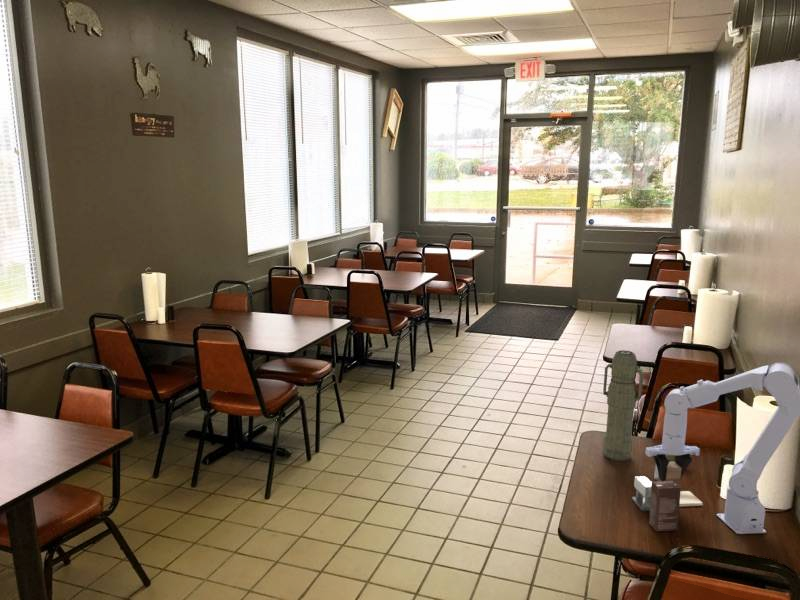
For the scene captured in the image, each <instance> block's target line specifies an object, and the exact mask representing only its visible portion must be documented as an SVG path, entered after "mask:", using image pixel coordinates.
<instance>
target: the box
mask: <svg viewBox="0 0 800 600" xmlns="http://www.w3.org/2000/svg"><path fill="white" fill-rule="evenodd" d="M651 482H652V485H651V501H650V511H649V517H648V518H649V519H648V521H649V522H648V524H649V525H650V526H651V528H653V530H655V532H666V531H671V532H672V531H679V529H678V528H679V514H680V507H679V504H680V491H681V489H682V487H681V486H679V485H678V484H676V483H675V482H674V481H673V480H672V481H657V480H655V481H651Z"/></svg>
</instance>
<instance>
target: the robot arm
mask: <svg viewBox="0 0 800 600" xmlns="http://www.w3.org/2000/svg"><path fill="white" fill-rule="evenodd" d="M696 381H697V382H696V383H695V384H692V385H689V386H686V387H685V386H683V385H682V386H680V387H679V388H674V389H672V390H671V391H670V392H669V393H668V394H667V395H666V397H665V399H664V404H663V405H664V408H665V411H664V412H665V414H664V418H663V427H662V428H663V429H662V440H661V444H659V445H654V446H650V447H649V446H648V447H645V454H644V455H646V456H647V457H649V458H653V459H654V462H655V465H657V469H658V475H659V479H660V480H661V481H665V478H666V470H667V466H668V464H669V462H670V460H668V459H666V457H665V456H666V455H675V463H676V464H678V465H679V466H680V467H681V468H682V469H681V479H680V482H681V481H682V478H683V476H684V473H685V472H686V469H687V468H688V466H690V464H691V463H692V462H693V458H692V457H691V456H693V455H694V456H695V457H696V456H700V451H701V450H700V448H699V447H697V445H686V444H685V443H686V436H687V424H688V409H694V408H698V407H701V406H705V405H709V404H711V403H715V402H717V401H718V399H719V397H720V396H721V395H726V394H728V393H733V392H737V391H740V390H744V389H747V388H748V389H749V388H753V389H756V390H758V391H761V392H763V391H764V389H766V391H767V392H768V393H769V394H770V395H771V396H772V397H773V398H774V400H775V402H776V404H777V408H776V410H775V411H774V413H773V414H772V416H771V417H770V419H769V421H768V422H767V424H765V426H764V428H763V429H762V431H761V433H760V434H759V436H758V437H757V439H756V440H755V442H754V444H753V445H752V447H751V449H750V450H749V451H748V453H747V454H745V456H744V457H743V459H742V460H740V461H738V462H736V463H735V464H734V465H733V467H732V470H731V474H730V475H731V476H730V477H729V480H728V485H727V488H726V496H725V497H726V498H725V505H724V512H723V513H717V514H716V517H718V518H719V519H720V521H722V522H723V523H724V524H725V525H727V526H728V527H729V528H730V529H731V530H732V531H733V532H735V533H736V534H737V535H739V534H740V535H745V534H766V533H767V530H766V529H764V526H765V519H766V518H765V517H766V509H765V506H764V504H763V503H762V502H761V500H760V498H759V491H758V489H757V488H758V487H757V485H758V481H759V479H760V478H761V476H762V473H763V472H764V469H765V467H766V466H767V464H768V463H769V461H770V460H771V458H772V457H773V455H774V454H775V452H776V451H777V449H778V448H779V446H780V445H781V443H782V442H783V440H784V439H785V437H786V435H787V434H788V433H789V432H790V430H791V428H792V426H793V425H794V423H795V422H796V421H797V420H798V418H799V416H800V379H799V377H798V375H797V374H796V372H795V369H793V368H792V366H791V365H789V364H787V363H785V362H776V363H773V364H771V365H770V366H769V365H763V366H759V367H756V368H754V369H751V370H748V371H744V372H742V373H740V374H736V375H734V376H731V377H729V378H726V379H723V380H719V381H716V382H714V381H711V380H705V381H704V380H703V379H700V380H696Z"/></svg>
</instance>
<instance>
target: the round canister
mask: <svg viewBox="0 0 800 600" xmlns="http://www.w3.org/2000/svg"><path fill="white" fill-rule="evenodd" d="M653 478H654V480H655V481H659V475H658V469H657V465H656V464H655V466H654V477H653Z"/></svg>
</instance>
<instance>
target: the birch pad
mask: <svg viewBox="0 0 800 600" xmlns="http://www.w3.org/2000/svg"><path fill="white" fill-rule="evenodd" d="M703 505H704V504H703V502H702V501H701V500H700V499H699V498H698V497H697V496H695V495H694V493H693V492H691V491H690V490H682V491H680V504H679V508H681V507H702V506H703Z"/></svg>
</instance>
